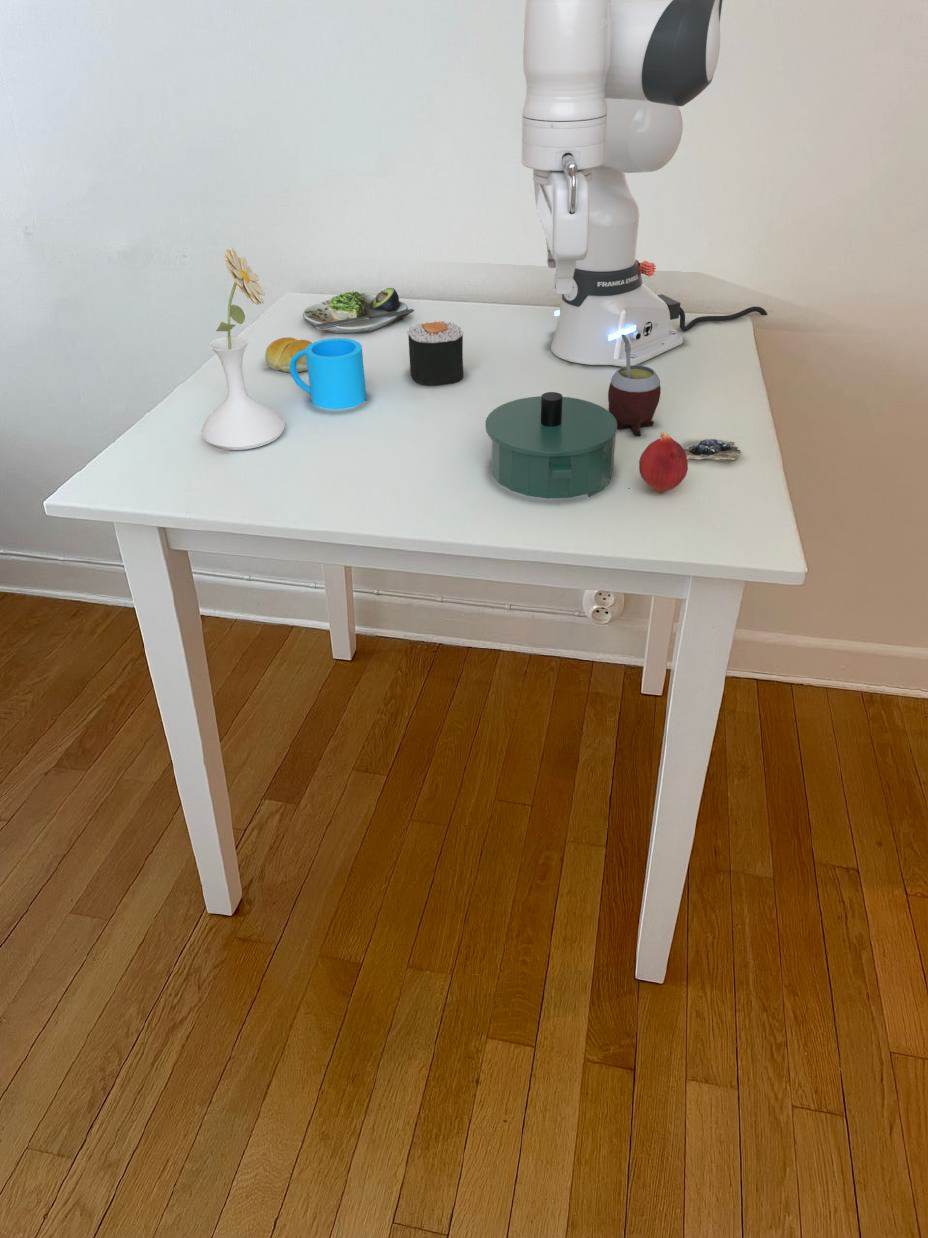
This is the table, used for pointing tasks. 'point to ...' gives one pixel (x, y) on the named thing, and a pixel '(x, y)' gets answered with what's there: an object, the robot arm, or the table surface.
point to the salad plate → (357, 312)
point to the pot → (554, 472)
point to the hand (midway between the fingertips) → (558, 278)
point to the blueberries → (712, 450)
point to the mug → (333, 373)
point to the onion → (663, 464)
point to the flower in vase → (239, 377)
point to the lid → (551, 425)
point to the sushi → (436, 353)
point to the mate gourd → (633, 395)
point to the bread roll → (286, 354)
